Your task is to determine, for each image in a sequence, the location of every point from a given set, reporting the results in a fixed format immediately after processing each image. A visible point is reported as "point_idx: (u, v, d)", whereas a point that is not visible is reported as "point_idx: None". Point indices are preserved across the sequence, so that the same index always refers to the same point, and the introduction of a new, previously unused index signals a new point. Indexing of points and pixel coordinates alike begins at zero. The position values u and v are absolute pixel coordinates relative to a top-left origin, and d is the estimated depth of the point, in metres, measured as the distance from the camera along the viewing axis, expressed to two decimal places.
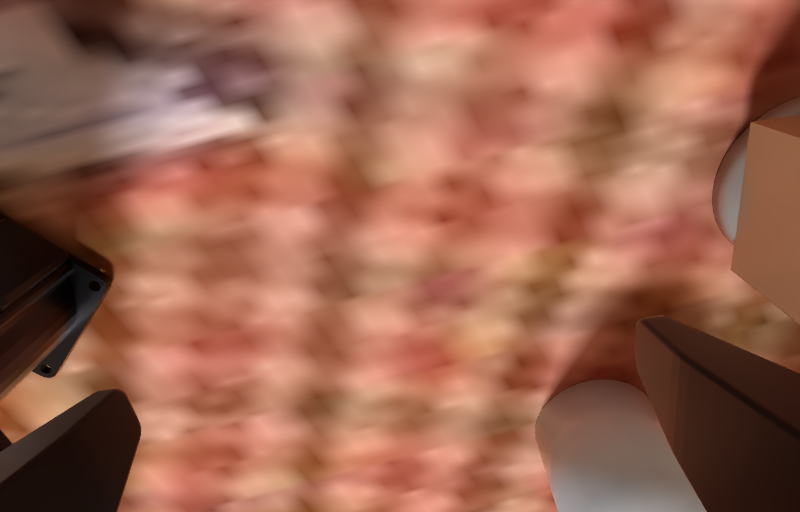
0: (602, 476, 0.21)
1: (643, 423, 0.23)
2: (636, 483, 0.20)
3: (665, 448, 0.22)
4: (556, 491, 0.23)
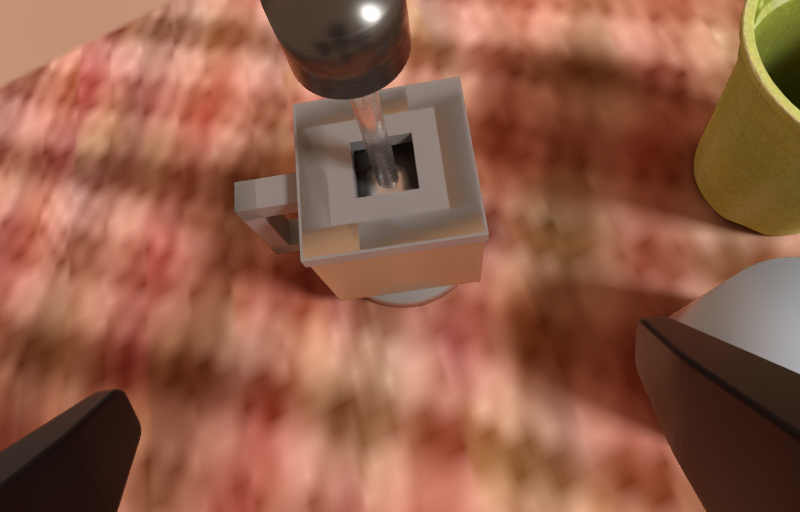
0: None
1: None
2: None
3: None
4: None
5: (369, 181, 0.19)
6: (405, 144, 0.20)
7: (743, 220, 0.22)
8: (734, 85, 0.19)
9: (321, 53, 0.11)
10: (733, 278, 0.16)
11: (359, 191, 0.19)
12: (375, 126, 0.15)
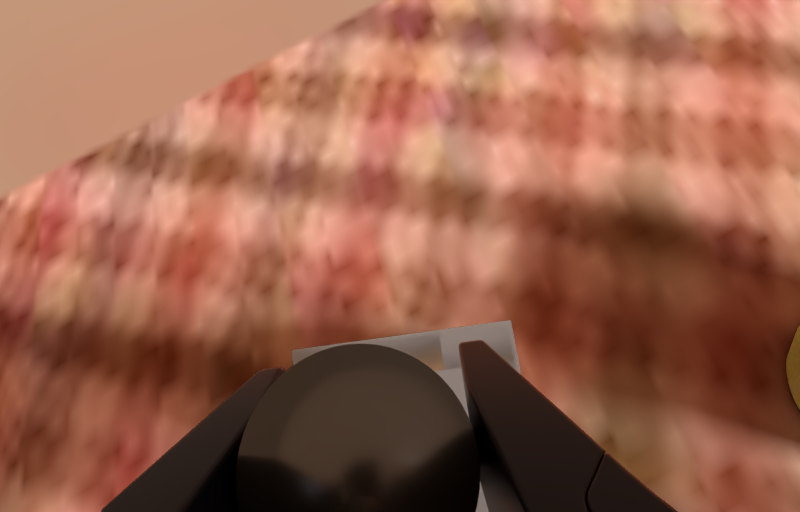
0: None
1: None
2: None
3: None
4: None
5: None
6: None
7: None
8: None
9: None
10: None
11: None
12: None
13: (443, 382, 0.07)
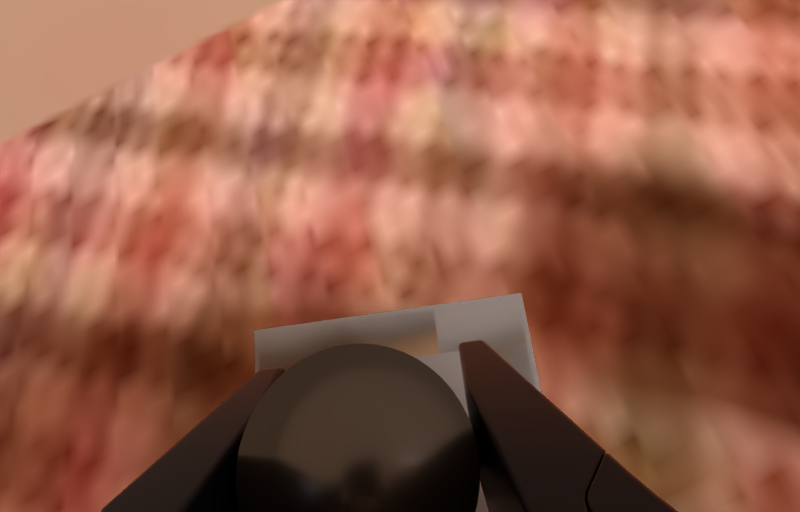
0: None
1: None
2: None
3: None
4: None
5: None
6: None
7: None
8: None
9: None
10: None
11: None
12: None
13: (443, 382, 0.07)
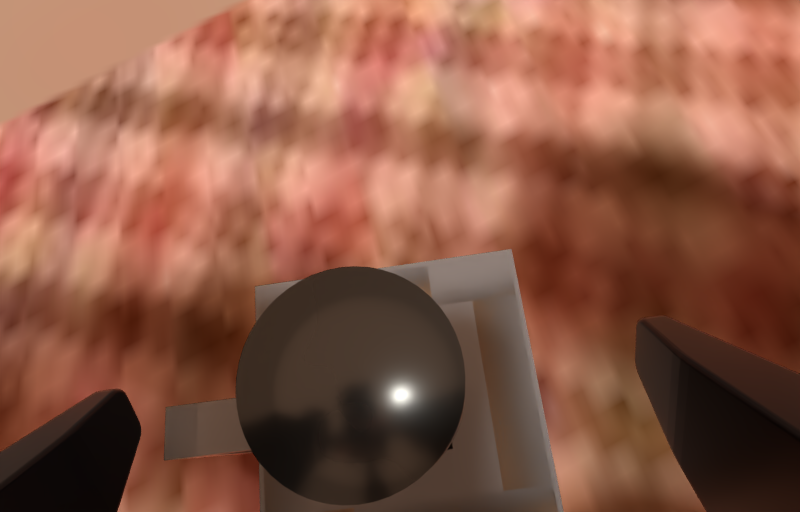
0: None
1: None
2: None
3: None
4: None
5: None
6: None
7: None
8: None
9: None
10: None
11: None
12: None
13: (431, 300, 0.07)
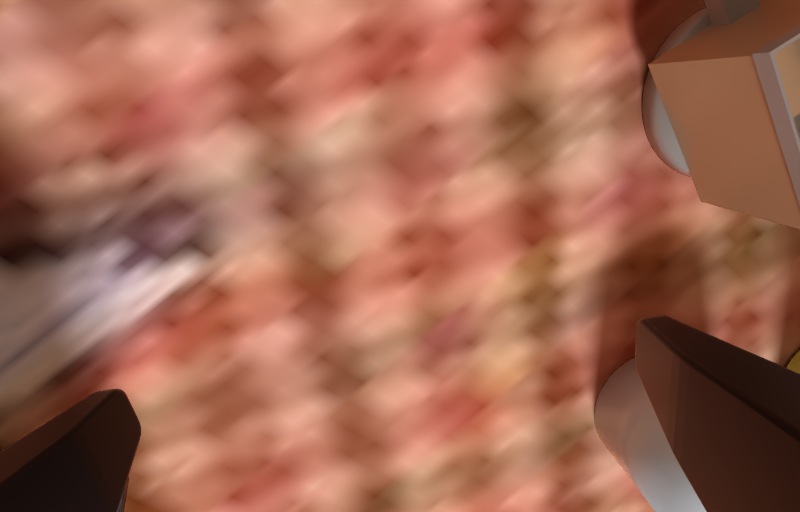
0: (662, 471, 0.20)
1: None
2: None
3: None
4: (648, 502, 0.22)
5: None
6: None
7: None
8: None
9: None
10: None
11: None
12: None
13: None
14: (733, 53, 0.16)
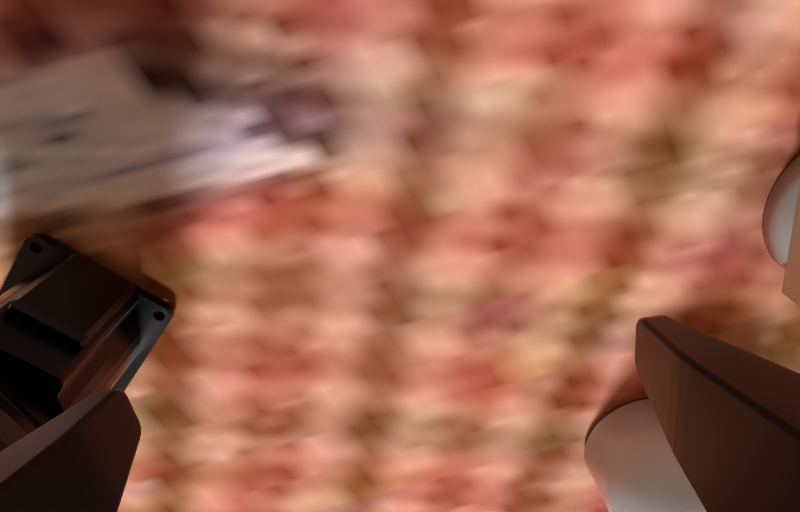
0: None
1: None
2: None
3: None
4: None
5: None
6: None
7: None
8: None
9: None
10: None
11: None
12: None
13: None
14: None
